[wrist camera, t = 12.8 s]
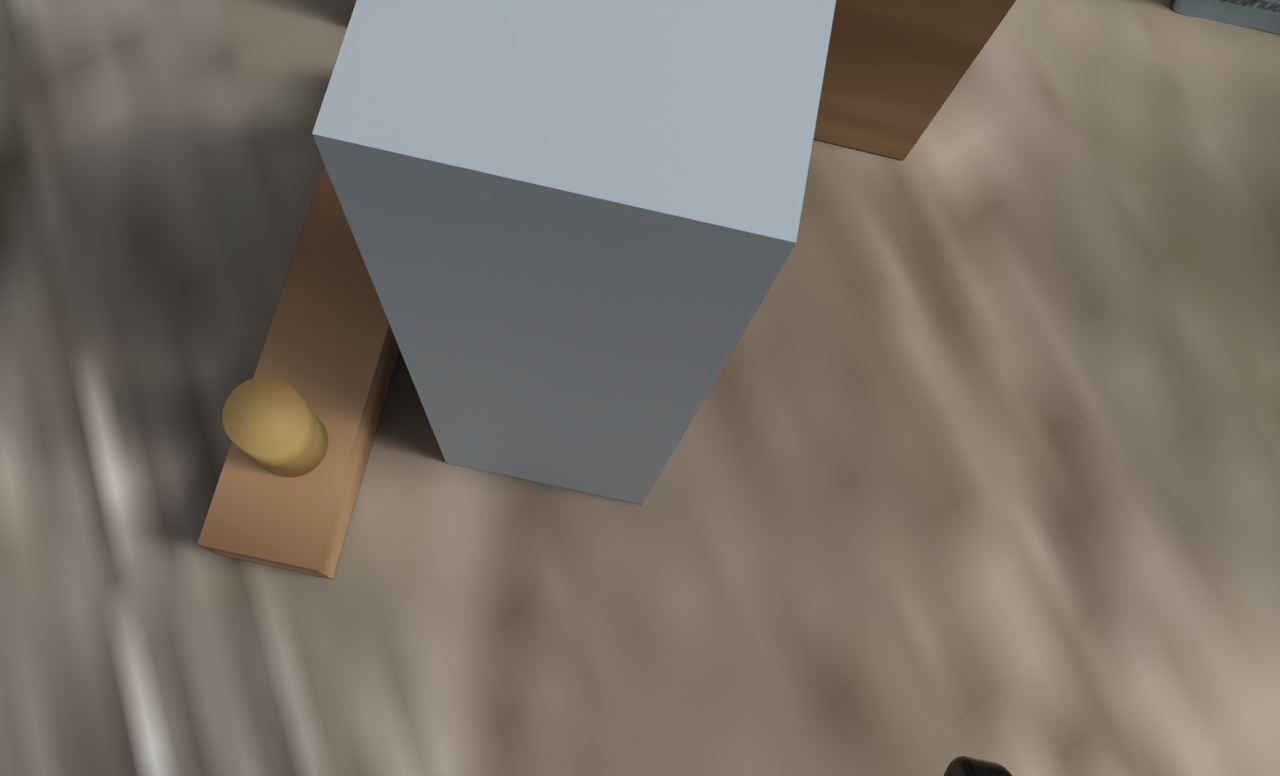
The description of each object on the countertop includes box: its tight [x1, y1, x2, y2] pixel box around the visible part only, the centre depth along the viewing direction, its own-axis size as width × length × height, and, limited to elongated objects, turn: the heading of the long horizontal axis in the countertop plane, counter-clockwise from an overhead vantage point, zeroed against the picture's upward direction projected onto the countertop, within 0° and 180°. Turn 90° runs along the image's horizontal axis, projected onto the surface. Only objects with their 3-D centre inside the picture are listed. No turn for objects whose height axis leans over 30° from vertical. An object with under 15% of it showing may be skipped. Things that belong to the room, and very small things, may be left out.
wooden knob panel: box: [197, 0, 1016, 579], centre depth 16 cm, size 13×12×10 cm
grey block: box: [312, 0, 836, 505], centre depth 14 cm, size 5×4×12 cm
